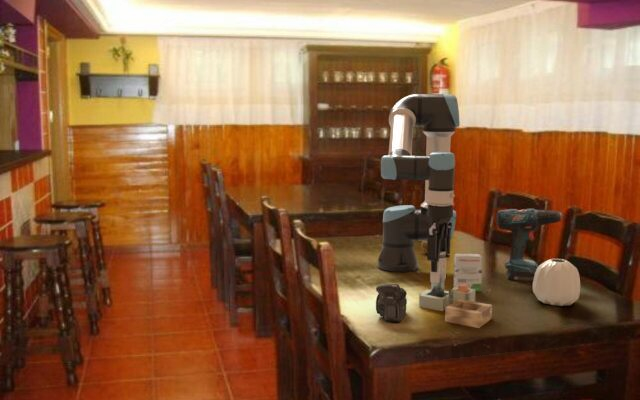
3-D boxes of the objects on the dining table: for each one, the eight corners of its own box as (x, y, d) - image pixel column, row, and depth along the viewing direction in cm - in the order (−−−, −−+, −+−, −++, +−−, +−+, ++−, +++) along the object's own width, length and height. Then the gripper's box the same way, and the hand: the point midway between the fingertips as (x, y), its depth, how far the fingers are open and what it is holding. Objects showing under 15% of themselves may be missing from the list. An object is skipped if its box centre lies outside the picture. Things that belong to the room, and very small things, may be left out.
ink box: (478, 287, 214) (480, 253, 212) (481, 291, 209) (483, 256, 208) (452, 287, 214) (454, 252, 213) (455, 291, 210) (456, 256, 208)
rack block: (444, 321, 179) (445, 307, 179) (458, 312, 187) (458, 299, 187) (479, 328, 174) (479, 314, 173) (491, 318, 182) (492, 304, 181)
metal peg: (428, 296, 194) (429, 252, 192) (434, 293, 197) (435, 249, 195) (441, 299, 192) (442, 253, 189) (446, 295, 195) (447, 251, 193)
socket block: (416, 306, 193) (416, 287, 192) (429, 298, 201) (429, 280, 200) (465, 315, 184) (465, 295, 184) (476, 307, 192) (477, 288, 191)
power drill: (563, 282, 221) (567, 211, 217) (494, 279, 225) (497, 209, 222) (559, 276, 229) (563, 207, 226) (493, 273, 234) (496, 205, 230)
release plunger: (456, 302, 189) (456, 285, 188) (459, 300, 191) (460, 283, 191) (465, 303, 188) (465, 287, 187) (468, 301, 190) (469, 285, 189)
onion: (442, 252, 268) (443, 233, 266) (435, 256, 261) (435, 237, 260) (425, 250, 272) (426, 232, 270) (418, 253, 265) (418, 235, 264)
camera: (371, 310, 189) (372, 277, 188) (405, 309, 190) (405, 277, 189) (377, 324, 176) (378, 289, 175) (413, 324, 177) (414, 289, 175)
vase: (575, 312, 188) (577, 267, 187) (527, 304, 196) (529, 261, 194) (583, 300, 200) (586, 258, 198) (538, 293, 207) (540, 253, 206)
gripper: (440, 209, 181) (438, 288, 185) (463, 201, 195) (460, 275, 199) (416, 206, 185) (414, 284, 189) (440, 199, 199) (437, 272, 203)
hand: (437, 279), depth 194 cm, fingers closed on metal peg, 4 cm apart
